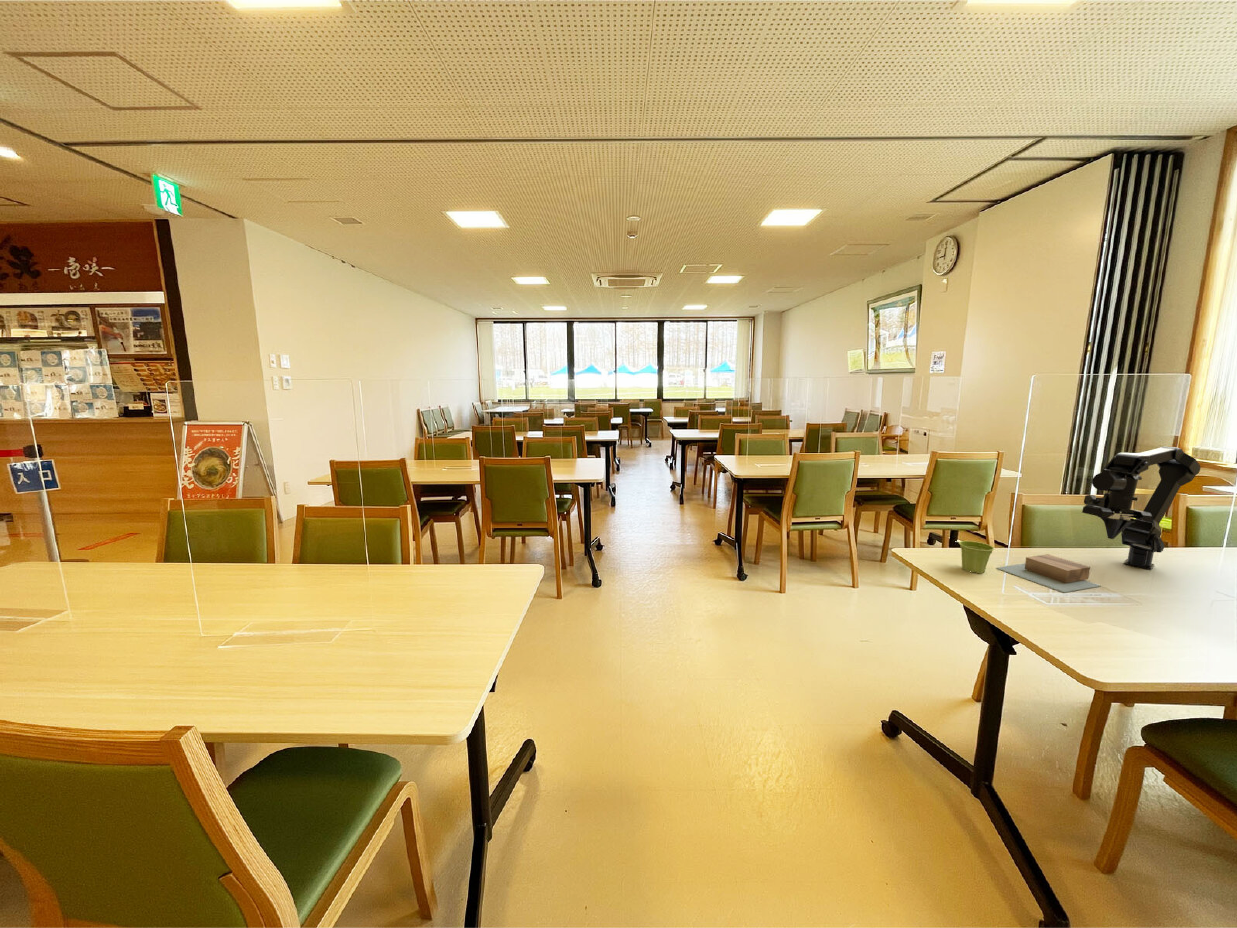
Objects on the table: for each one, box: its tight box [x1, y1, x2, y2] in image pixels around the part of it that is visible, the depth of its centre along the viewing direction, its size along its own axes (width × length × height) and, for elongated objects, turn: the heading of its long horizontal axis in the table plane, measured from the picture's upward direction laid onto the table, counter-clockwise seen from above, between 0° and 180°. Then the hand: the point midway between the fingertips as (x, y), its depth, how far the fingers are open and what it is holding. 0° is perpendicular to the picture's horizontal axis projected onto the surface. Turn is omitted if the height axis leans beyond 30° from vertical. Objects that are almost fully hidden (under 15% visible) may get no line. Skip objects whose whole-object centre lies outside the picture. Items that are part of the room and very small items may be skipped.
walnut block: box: [1025, 553, 1091, 583], centre depth 158 cm, size 4×12×10 cm
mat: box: [996, 563, 1102, 594], centre depth 158 cm, size 16×20×1 cm
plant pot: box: [958, 540, 995, 574], centre depth 163 cm, size 9×9×9 cm
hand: (1110, 538), depth 161 cm, fingers closed
